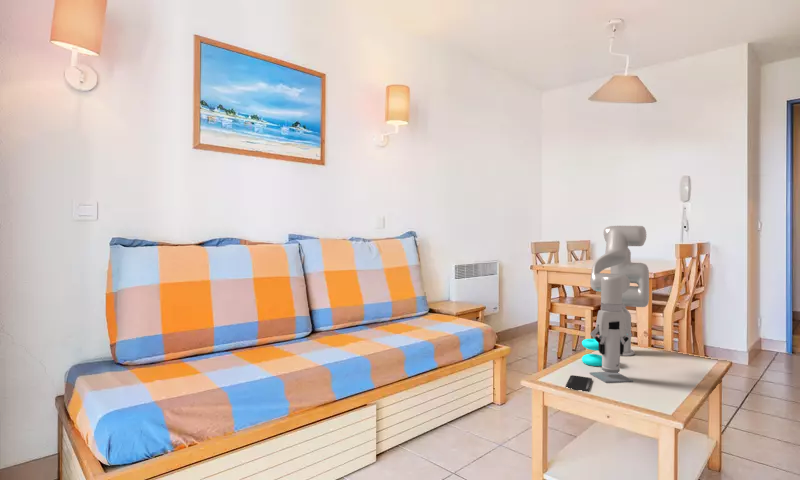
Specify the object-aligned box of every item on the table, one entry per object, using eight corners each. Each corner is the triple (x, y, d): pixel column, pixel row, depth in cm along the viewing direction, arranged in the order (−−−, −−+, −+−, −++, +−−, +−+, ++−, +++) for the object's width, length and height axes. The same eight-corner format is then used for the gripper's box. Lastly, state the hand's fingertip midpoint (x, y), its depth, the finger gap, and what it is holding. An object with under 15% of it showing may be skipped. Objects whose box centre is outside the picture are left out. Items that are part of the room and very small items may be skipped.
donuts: (588, 336, 203) (611, 340, 196) (588, 359, 203) (611, 364, 196) (577, 340, 196) (600, 344, 189) (577, 363, 196) (600, 368, 189)
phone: (592, 378, 174) (588, 389, 161) (592, 381, 175) (588, 393, 161) (570, 374, 178) (564, 386, 165) (570, 377, 178) (564, 389, 165)
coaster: (589, 373, 182) (589, 372, 182) (615, 372, 183) (615, 371, 183) (605, 382, 171) (605, 381, 171) (632, 381, 173) (632, 380, 173)
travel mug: (622, 373, 173) (623, 321, 173) (604, 372, 175) (605, 320, 174) (618, 368, 180) (619, 318, 179) (600, 367, 181) (601, 317, 180)
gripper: (629, 306, 180) (629, 351, 181) (585, 305, 181) (584, 351, 181) (638, 309, 173) (638, 356, 173) (592, 309, 173) (592, 356, 174)
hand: (610, 353), depth 177 cm, fingers closed on travel mug, 6 cm apart
